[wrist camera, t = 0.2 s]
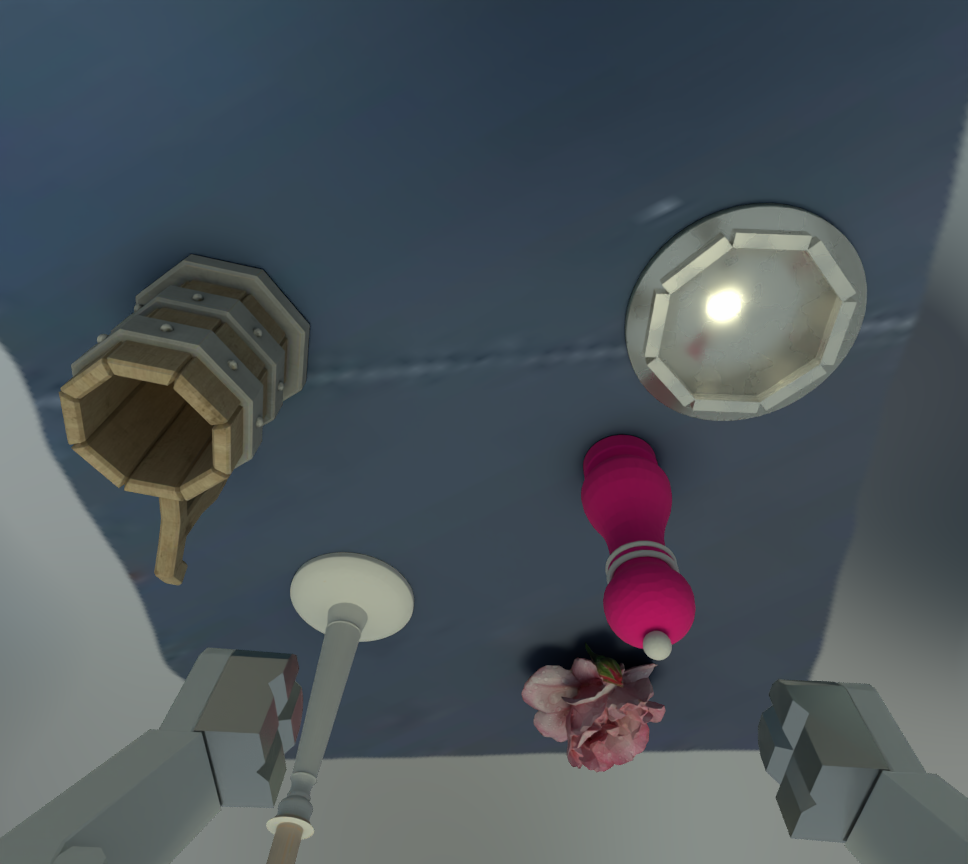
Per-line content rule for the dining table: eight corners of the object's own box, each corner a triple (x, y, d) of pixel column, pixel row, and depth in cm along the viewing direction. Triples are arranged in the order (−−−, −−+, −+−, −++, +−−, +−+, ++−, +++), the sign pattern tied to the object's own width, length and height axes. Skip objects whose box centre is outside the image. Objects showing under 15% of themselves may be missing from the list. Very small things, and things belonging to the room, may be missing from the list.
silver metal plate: (644, 198, 44) (649, 206, 43) (897, 208, 44) (912, 216, 42) (610, 409, 54) (613, 422, 52) (818, 418, 54) (827, 432, 52)
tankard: (140, 241, 48) (8, 331, 36) (313, 278, 49) (243, 378, 37) (160, 455, 59) (64, 580, 47) (300, 482, 60) (243, 611, 48)
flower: (544, 743, 77) (570, 818, 68) (503, 653, 71) (525, 723, 62) (660, 692, 77) (700, 761, 68) (628, 599, 72) (668, 660, 63)
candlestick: (325, 533, 64) (202, 883, 39) (437, 588, 67) (389, 939, 42) (272, 604, 70) (136, 944, 45) (376, 651, 73) (304, 989, 49)
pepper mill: (626, 413, 54) (673, 601, 38) (678, 464, 57) (743, 660, 41) (560, 461, 57) (577, 654, 41) (612, 507, 60) (647, 705, 44)
